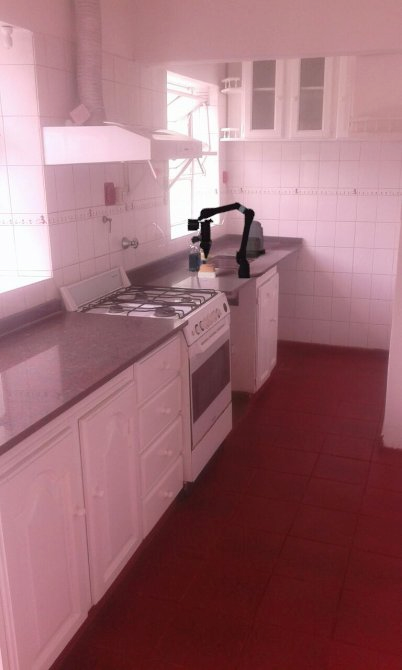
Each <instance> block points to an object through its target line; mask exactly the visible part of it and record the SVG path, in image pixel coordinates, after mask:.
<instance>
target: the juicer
mask: <svg viewBox="0 0 402 670" xmlns="http://www.w3.org/2000/svg"><path fill="white" fill-rule="evenodd" d="M264 239H265V238H264V228H263V227H262V223H261V222H259V220H253V221H252V224H251V226H250V232H249V237H248V242H247V247H246V259H258V258H259V257H261V255H262V256H263V255H265V254H266V249H265V248H264V245H265V243H264Z"/></svg>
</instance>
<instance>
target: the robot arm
mask: <svg viewBox="0 0 402 670" xmlns="http://www.w3.org/2000/svg"><path fill="white" fill-rule="evenodd" d="M235 210H237V211H238V212H239V213H241V214H243V217H244V219H243V224H244V225H243V230H242V234H241V241H240V245H239V249H238V250H235V252H236V253H235V256H234V259H235V261H236V264H237V265H238V269H237V277H238V278H239V279H250V278H251V266H250V264H251V263H250V261H249V260H248V259H247V258H246V247H247V242H248V237H249V232H250V226H251V224H252V221H254V220H255V216H256V215H255V214H256V212H255V210H254V209H252V208H250V207H248V208H247V207H246V206H244V205H243V204H241V203H240V202H238V201H235V202H233V203H228V204H225V205H224V204H223V205H221V206H217V207H204V208H202V209H201V210H200V212H199V216H198V217H197V218H188V219H187V232H197V231H198V230H199V229H200V232H199V234H198V235H193V236H192V237H191V238H190V241H191V243H192V245H194V244H196V243H199V248H200V249H202V250H203V252H204V256H205V259H207V257H208V254H209V252H211V247H212V243H213V239H212V238H211V237H212V236H211V234H212V232H211V229H212V228H211V223H212V224H213V223H214V220H213V219H212V217H214V216H216V215H218V214H219V215H220V214H224V213H226V212H230V211H235Z"/></svg>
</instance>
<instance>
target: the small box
mask: <svg viewBox="0 0 402 670" xmlns="http://www.w3.org/2000/svg"><path fill="white" fill-rule="evenodd" d="M202 264H207V260H201V252H194V253H189V254H188V272H197V273H198V272H199V270H200V266H201V265H202Z"/></svg>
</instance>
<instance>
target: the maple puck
mask: <svg viewBox="0 0 402 670" xmlns="http://www.w3.org/2000/svg"><path fill="white" fill-rule="evenodd" d="M200 253H201V260H206V261H211V260H212V252H211V251H209V254H208V257H207V259H205V256H204V252H200Z"/></svg>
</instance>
